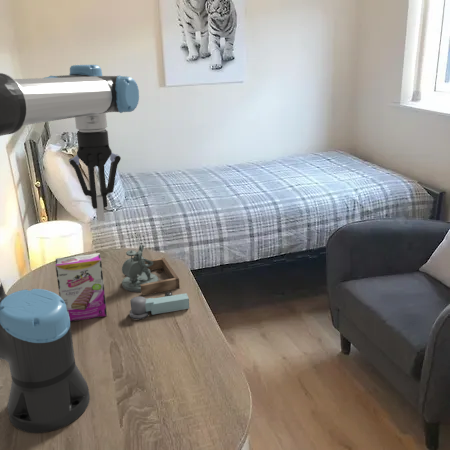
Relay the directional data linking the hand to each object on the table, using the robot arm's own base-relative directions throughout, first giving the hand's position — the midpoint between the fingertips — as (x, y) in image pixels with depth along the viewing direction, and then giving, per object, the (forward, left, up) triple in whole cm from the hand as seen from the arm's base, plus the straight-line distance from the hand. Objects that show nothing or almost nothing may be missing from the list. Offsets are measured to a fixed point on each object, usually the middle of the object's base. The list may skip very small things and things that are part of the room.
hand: (101, 219), depth 132 cm
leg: (+11, -14, -23) cm, 29 cm away
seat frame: (+13, +5, -23) cm, 27 cm away
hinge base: (+9, -12, -23) cm, 28 cm away
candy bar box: (-8, -8, -23) cm, 26 cm away
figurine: (+10, +4, -23) cm, 25 cm away
